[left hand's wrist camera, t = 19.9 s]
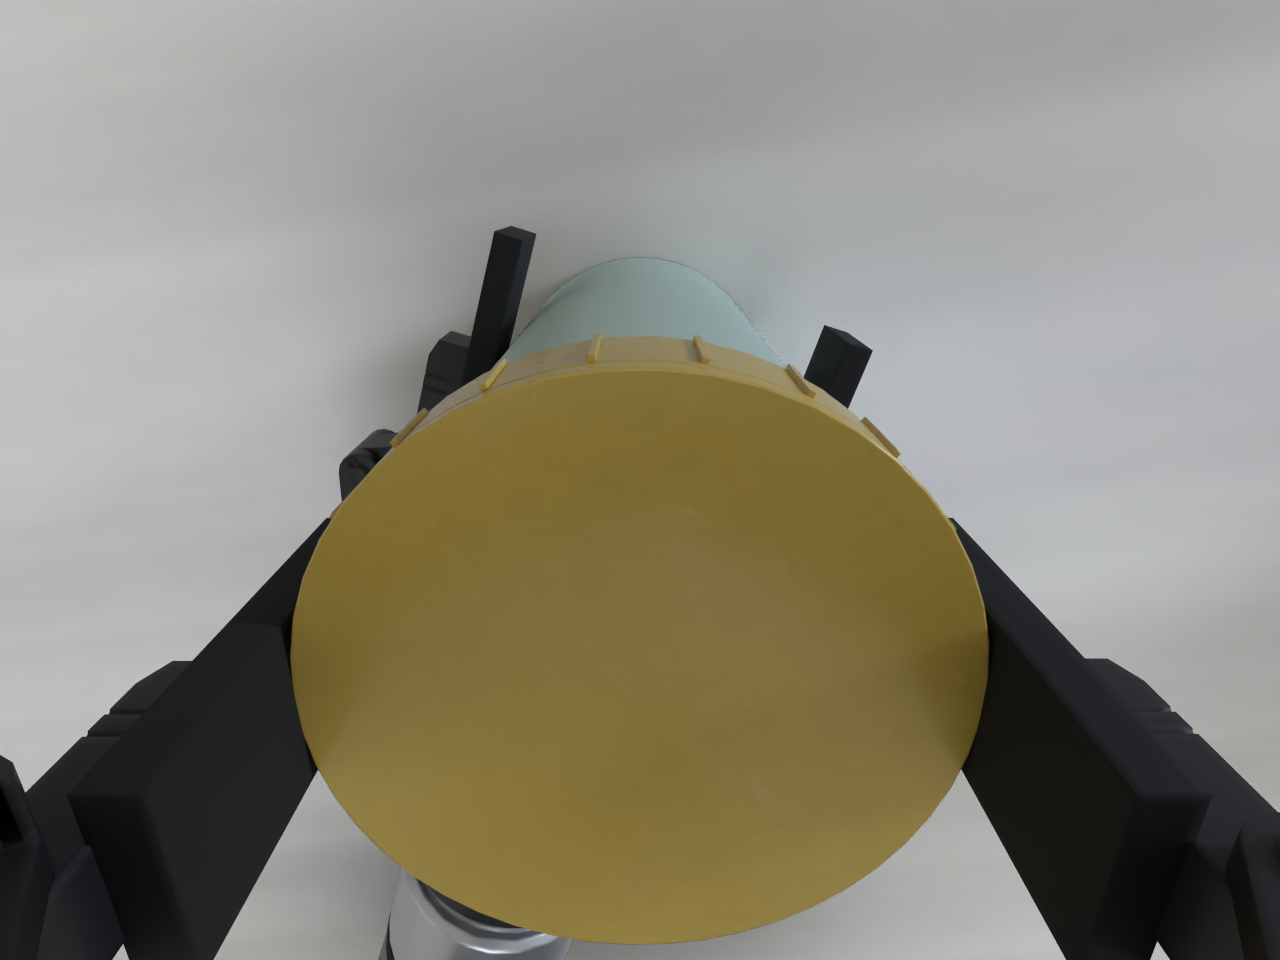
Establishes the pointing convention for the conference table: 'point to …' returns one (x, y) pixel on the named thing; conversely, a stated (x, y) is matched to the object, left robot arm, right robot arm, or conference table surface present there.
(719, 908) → the lid
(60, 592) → the conference table surface
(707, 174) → the conference table surface
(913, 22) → the conference table surface
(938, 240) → the conference table surface
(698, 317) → the jar
